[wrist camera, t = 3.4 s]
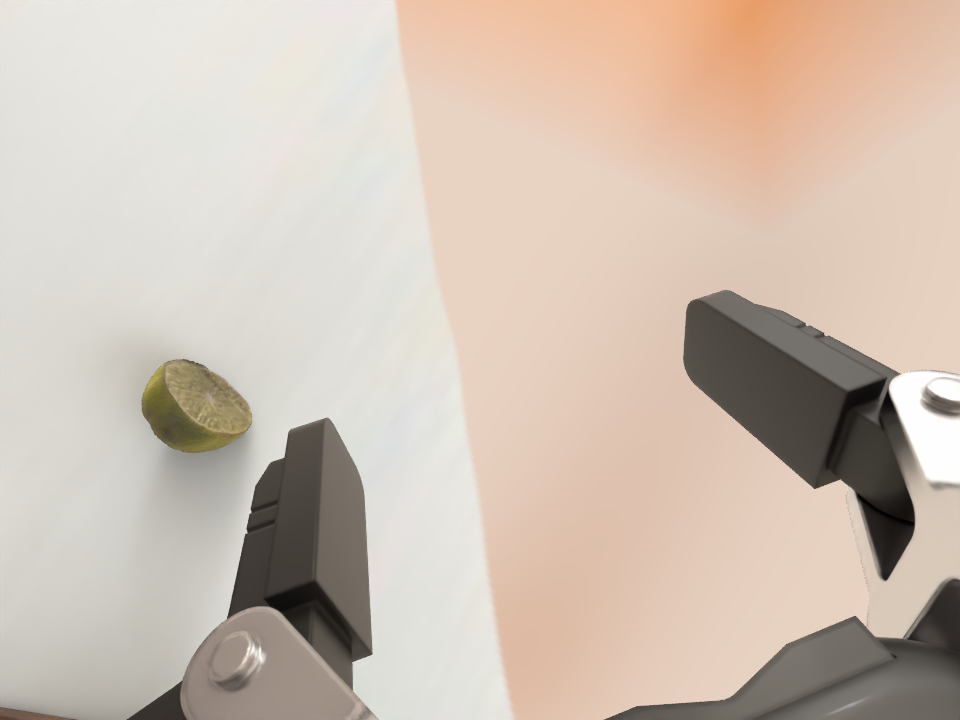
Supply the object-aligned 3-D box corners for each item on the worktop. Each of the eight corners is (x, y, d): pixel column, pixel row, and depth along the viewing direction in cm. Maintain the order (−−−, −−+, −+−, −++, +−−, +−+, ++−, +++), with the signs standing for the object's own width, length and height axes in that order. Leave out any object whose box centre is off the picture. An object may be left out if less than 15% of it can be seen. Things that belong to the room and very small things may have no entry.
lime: (187, 363, 25) (140, 339, 21) (274, 386, 26) (248, 368, 21) (154, 441, 24) (96, 435, 20) (245, 463, 25) (211, 462, 20)
